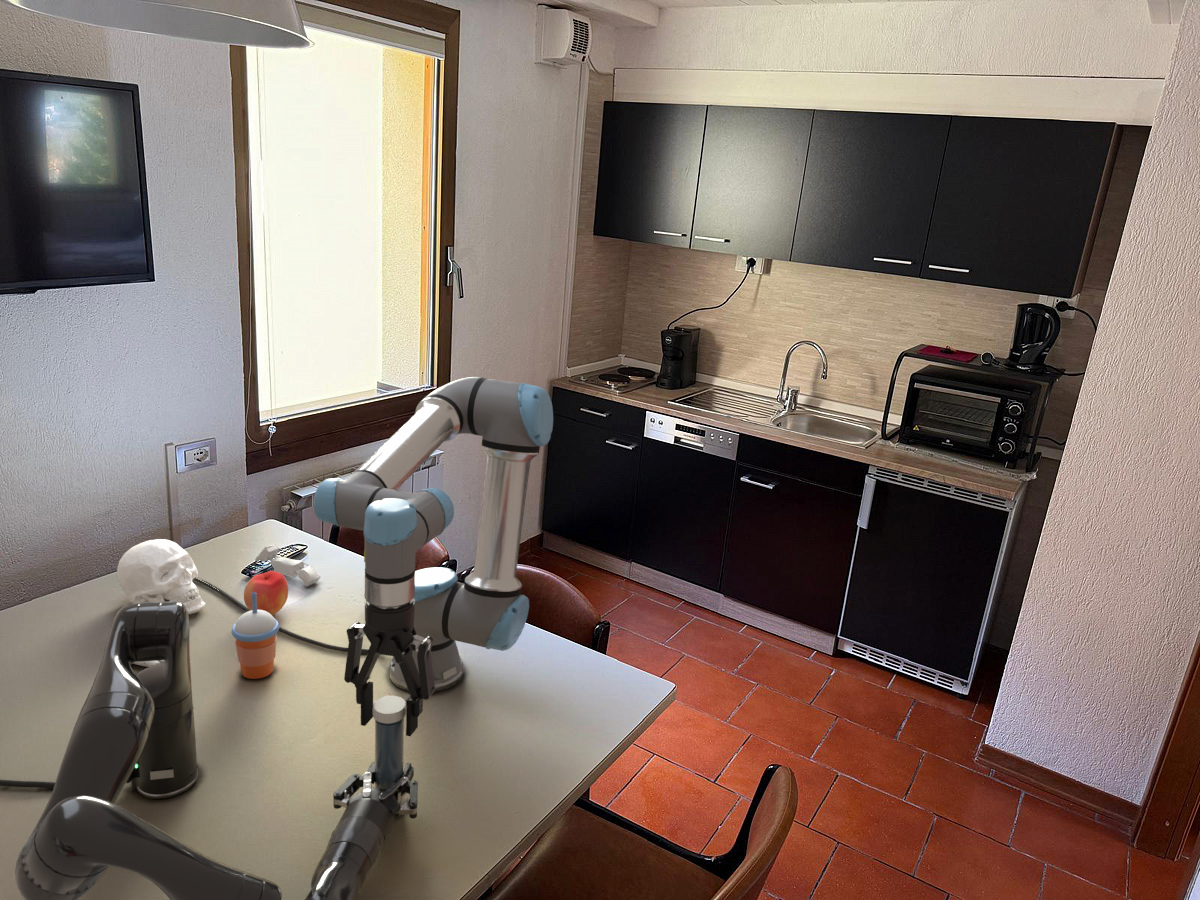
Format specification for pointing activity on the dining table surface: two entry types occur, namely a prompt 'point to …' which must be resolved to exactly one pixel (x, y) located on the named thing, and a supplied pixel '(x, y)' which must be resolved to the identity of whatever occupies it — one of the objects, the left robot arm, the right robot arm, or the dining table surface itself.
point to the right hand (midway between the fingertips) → (389, 725)
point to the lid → (389, 709)
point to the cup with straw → (256, 641)
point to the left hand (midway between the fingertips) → (394, 765)
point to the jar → (389, 754)
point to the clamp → (288, 565)
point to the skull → (159, 574)
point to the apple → (267, 592)
